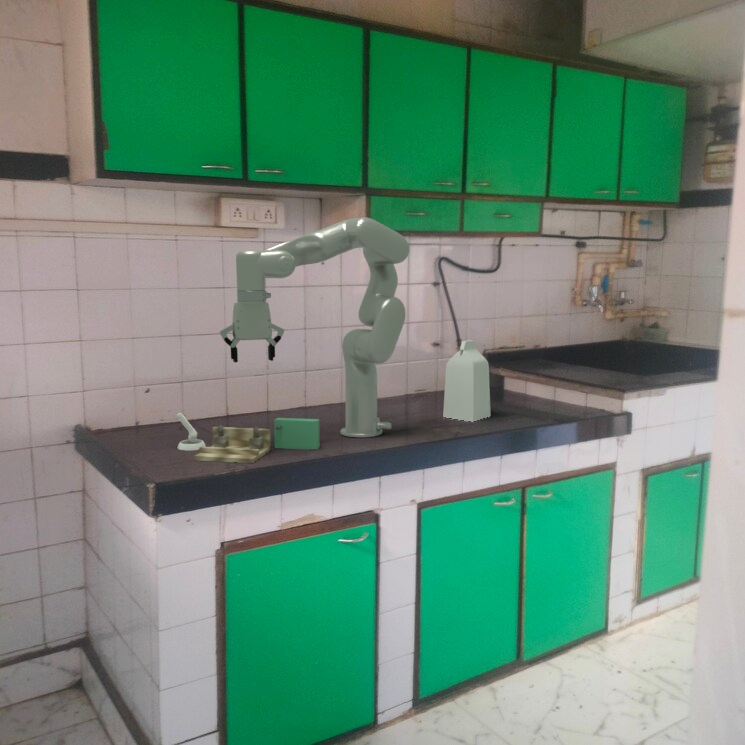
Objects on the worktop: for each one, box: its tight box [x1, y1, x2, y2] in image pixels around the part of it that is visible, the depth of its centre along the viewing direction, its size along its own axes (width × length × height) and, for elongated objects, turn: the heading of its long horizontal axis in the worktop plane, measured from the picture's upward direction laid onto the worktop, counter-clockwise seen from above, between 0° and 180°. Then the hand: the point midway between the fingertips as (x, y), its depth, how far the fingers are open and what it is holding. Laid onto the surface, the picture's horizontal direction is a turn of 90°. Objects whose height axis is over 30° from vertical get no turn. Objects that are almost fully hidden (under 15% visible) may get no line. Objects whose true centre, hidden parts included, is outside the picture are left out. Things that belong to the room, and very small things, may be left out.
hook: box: [176, 412, 207, 451], centre depth 201 cm, size 8×12×7 cm
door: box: [273, 417, 321, 450], centre depth 200 cm, size 12×4×8 cm, turn 79°
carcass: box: [193, 424, 272, 464], centre depth 191 cm, size 16×14×7 cm
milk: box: [442, 339, 491, 423], centre depth 243 cm, size 12×12×26 cm
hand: (253, 361), depth 196 cm, fingers open, 9 cm apart
